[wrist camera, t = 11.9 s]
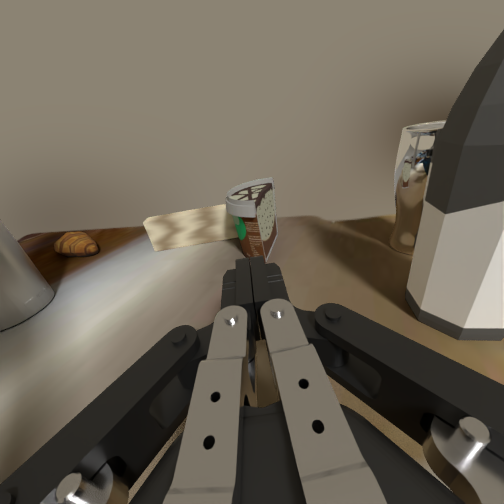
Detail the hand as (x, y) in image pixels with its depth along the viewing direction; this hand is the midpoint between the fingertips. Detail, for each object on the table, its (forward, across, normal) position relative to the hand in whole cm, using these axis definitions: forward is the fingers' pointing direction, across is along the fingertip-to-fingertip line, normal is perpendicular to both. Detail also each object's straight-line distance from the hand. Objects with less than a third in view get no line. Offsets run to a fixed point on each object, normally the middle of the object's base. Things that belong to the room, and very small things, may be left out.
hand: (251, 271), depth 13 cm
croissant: (+36, +38, +13) cm, 54 cm away
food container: (+24, 0, +12) cm, 27 cm away
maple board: (+30, +8, +12) cm, 34 cm away
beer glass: (+17, -22, +12) cm, 30 cm away
